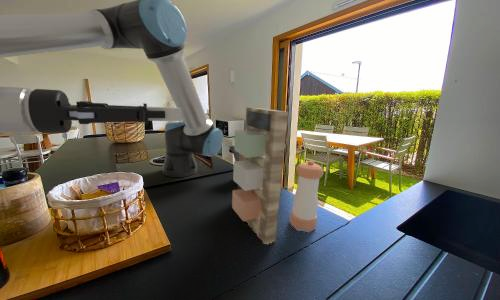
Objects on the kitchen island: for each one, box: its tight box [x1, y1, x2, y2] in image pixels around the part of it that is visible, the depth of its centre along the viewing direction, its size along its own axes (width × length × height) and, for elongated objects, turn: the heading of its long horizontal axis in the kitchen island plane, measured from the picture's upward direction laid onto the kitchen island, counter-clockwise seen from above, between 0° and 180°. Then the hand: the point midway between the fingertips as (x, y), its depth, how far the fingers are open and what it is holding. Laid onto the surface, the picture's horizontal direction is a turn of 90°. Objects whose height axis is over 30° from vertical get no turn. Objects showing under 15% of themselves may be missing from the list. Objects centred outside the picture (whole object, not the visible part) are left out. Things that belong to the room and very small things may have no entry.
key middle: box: [232, 160, 264, 191], centre depth 51 cm, size 7×5×5 cm
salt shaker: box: [289, 160, 324, 231], centre depth 56 cm, size 7×7×19 cm
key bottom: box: [231, 189, 261, 222], centre depth 53 cm, size 7×5×5 cm
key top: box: [233, 129, 266, 158], centre depth 49 cm, size 7×5×5 cm
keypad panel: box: [244, 107, 289, 245], centre depth 52 cm, size 14×4×32 cm, turn 27°
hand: (180, 114), depth 46 cm, fingers closed
